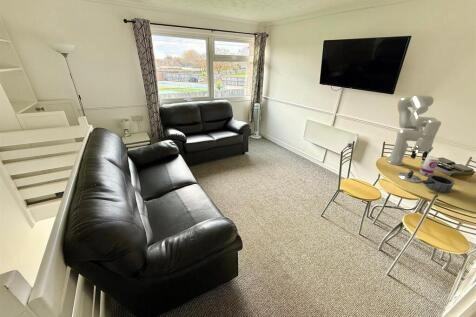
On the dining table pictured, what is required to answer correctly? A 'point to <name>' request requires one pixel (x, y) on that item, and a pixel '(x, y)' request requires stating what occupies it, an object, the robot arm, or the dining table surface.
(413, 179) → the lid
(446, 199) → the dining table surface
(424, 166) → the supplement can
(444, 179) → the pot
